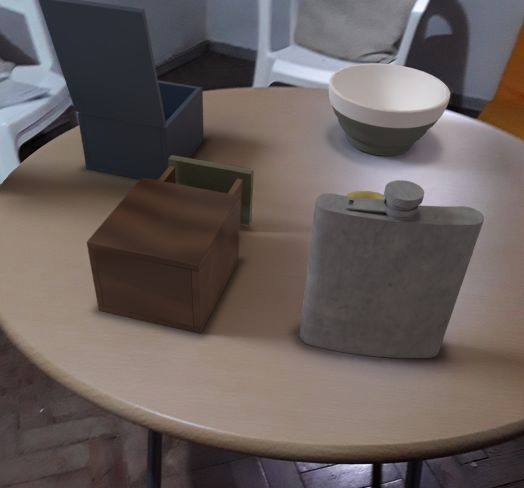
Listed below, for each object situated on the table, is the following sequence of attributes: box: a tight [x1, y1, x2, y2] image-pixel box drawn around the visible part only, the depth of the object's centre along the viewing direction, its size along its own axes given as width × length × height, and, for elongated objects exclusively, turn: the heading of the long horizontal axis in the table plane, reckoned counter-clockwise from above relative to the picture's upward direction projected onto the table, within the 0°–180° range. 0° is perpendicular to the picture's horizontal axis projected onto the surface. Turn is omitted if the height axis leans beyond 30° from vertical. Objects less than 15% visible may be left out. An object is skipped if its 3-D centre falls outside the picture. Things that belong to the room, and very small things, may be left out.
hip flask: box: [298, 179, 485, 359], centre depth 64 cm, size 16×4×20 cm, turn 84°
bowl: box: [328, 62, 451, 156], centre depth 105 cm, size 20×20×10 cm
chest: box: [76, 79, 204, 180], centre depth 98 cm, size 16×14×9 cm
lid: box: [38, 0, 166, 127], centre depth 82 cm, size 16×14×1 cm
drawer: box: [158, 155, 255, 233], centre depth 81 cm, size 15×11×8 cm
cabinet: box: [86, 178, 240, 334], centre depth 74 cm, size 15×13×10 cm
